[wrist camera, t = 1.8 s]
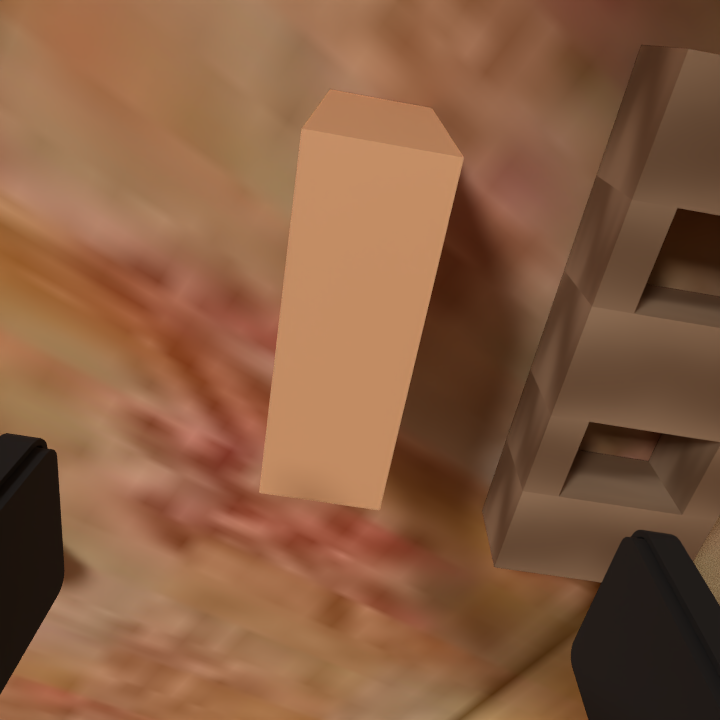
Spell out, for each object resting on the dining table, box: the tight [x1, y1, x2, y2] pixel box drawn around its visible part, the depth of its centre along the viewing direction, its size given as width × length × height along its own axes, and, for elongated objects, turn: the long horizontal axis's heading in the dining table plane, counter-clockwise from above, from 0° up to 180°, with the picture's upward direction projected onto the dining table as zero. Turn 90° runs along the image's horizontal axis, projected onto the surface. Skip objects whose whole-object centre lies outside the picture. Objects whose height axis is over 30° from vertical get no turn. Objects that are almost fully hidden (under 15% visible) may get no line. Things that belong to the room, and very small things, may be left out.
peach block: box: [259, 89, 464, 510], centre depth 20 cm, size 10×4×9 cm, turn 170°
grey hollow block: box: [482, 45, 720, 582], centre depth 24 cm, size 20×8×4 cm, turn 170°
